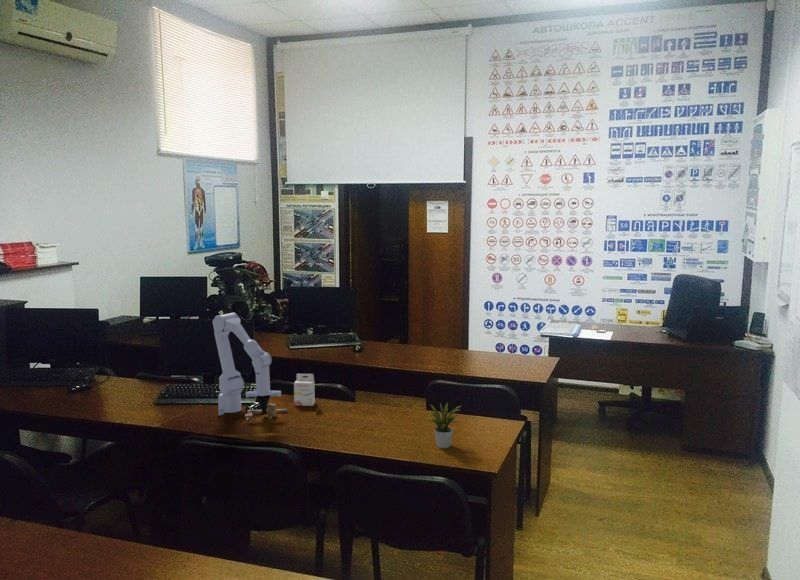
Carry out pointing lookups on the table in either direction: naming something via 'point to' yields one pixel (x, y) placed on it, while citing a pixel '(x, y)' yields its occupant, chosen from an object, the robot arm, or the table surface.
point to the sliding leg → (271, 410)
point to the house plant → (443, 426)
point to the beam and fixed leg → (251, 412)
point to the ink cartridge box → (304, 390)
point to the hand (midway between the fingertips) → (264, 412)
